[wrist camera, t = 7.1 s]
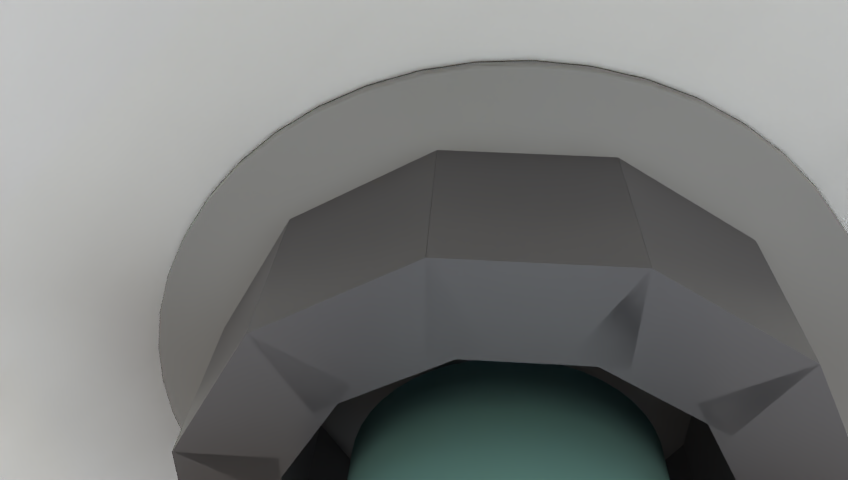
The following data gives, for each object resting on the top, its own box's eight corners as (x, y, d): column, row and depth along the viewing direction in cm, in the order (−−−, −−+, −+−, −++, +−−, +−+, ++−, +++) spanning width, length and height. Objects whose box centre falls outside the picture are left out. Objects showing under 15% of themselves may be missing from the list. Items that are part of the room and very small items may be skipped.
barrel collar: (764, 607, 17) (811, 759, 15) (211, 572, 18) (167, 713, 15) (989, 77, 11) (1146, 190, 8) (99, 44, 11) (-12, 140, 9)
